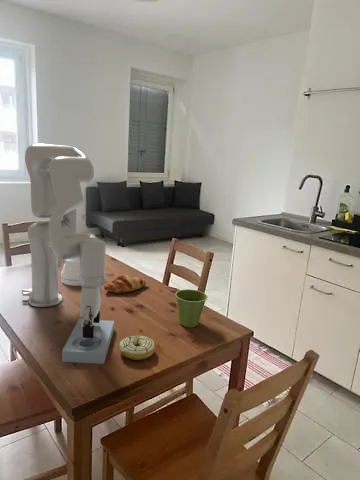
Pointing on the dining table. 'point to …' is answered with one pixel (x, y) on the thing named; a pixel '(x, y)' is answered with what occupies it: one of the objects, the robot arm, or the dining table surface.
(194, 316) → the plant pot
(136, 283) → the croissant
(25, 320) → the dining table surface
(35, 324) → the dining table surface
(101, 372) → the dining table surface
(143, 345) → the decorated donut
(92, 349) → the deck
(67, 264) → the honey pot
